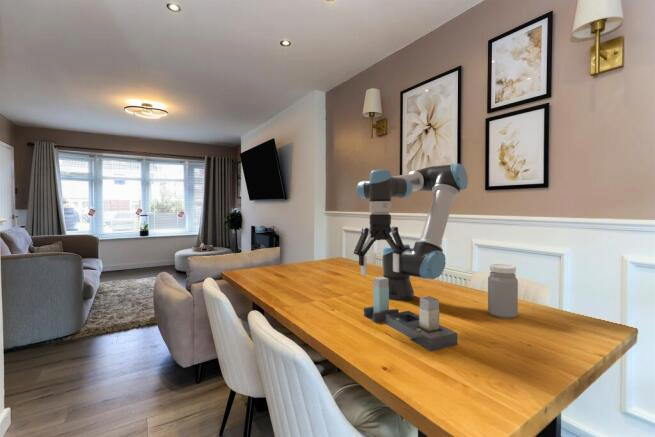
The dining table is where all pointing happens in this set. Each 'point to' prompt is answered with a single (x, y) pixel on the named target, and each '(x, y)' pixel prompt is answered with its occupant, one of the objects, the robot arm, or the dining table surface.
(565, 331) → the dining table surface
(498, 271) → the jar
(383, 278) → the plug
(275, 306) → the dining table surface
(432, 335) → the port block
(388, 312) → the holster
